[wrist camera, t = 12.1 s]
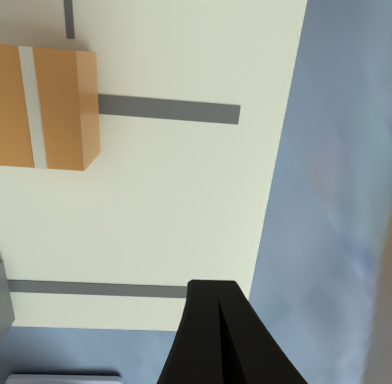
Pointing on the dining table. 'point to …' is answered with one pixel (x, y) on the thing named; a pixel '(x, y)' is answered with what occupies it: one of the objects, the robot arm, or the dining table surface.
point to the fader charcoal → (5, 303)
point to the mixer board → (150, 158)
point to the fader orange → (48, 108)
